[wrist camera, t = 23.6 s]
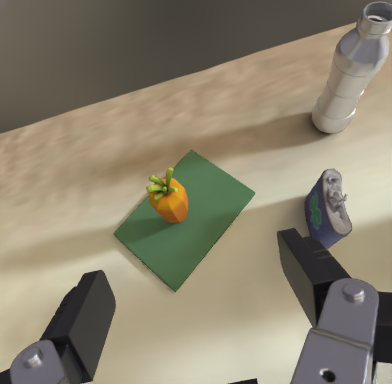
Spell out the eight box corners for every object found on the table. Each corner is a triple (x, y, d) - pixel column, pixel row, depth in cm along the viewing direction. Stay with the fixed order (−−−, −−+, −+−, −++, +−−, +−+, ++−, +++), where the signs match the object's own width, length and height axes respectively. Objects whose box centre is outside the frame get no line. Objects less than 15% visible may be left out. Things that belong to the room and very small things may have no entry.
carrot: (189, 200, 46) (170, 153, 33) (200, 227, 44) (184, 188, 31) (162, 211, 46) (131, 169, 33) (171, 238, 44) (142, 205, 30)
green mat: (255, 194, 46) (255, 192, 45) (175, 292, 42) (174, 291, 41) (192, 151, 51) (191, 149, 50) (114, 235, 46) (112, 233, 46)
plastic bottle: (313, 140, 49) (360, 37, 30) (304, 110, 51) (342, -2, 33) (352, 135, 48) (422, 27, 30) (341, 104, 51) (399, -12, 33)
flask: (331, 250, 41) (361, 230, 31) (311, 250, 41) (333, 231, 32) (320, 192, 45) (343, 159, 35) (301, 193, 45) (319, 160, 35)
